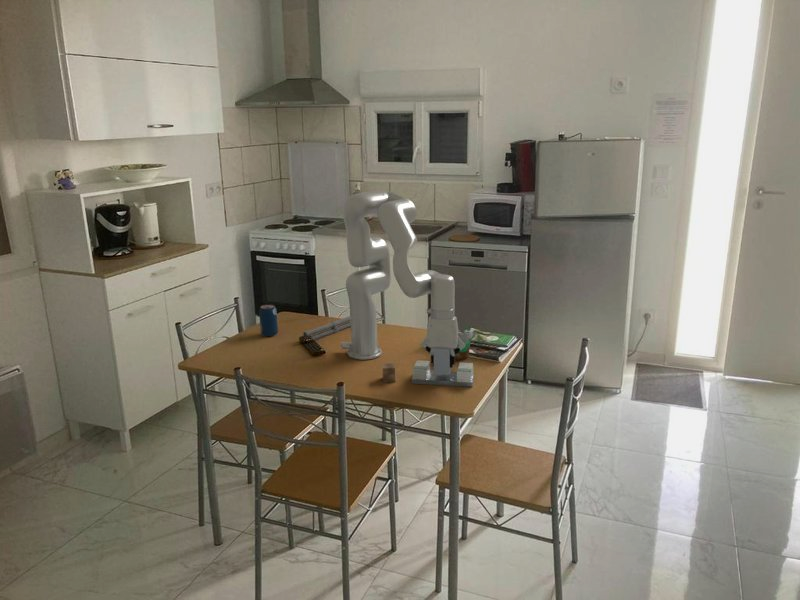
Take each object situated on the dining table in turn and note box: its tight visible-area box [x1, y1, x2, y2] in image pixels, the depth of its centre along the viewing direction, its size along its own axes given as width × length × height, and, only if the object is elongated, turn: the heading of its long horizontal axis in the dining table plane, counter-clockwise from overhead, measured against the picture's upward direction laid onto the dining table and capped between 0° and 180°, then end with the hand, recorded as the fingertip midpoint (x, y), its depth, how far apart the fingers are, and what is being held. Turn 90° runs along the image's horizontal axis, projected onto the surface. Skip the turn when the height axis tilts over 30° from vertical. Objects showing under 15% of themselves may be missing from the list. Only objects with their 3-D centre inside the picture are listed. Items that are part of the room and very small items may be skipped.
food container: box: [455, 329, 474, 362], centre depth 234 cm, size 12×6×10 cm, turn 88°
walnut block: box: [382, 363, 396, 383], centre depth 218 cm, size 4×4×5 cm
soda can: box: [258, 304, 279, 337], centre depth 264 cm, size 7×7×12 cm
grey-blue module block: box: [433, 348, 452, 375], centre depth 215 cm, size 5×7×9 cm
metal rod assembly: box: [303, 316, 351, 341], centre depth 264 cm, size 26×3×5 cm, turn 140°
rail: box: [410, 360, 476, 388], centre depth 216 cm, size 20×8×5 cm, turn 79°
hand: (442, 365), depth 216 cm, fingers closed on grey-blue module block, 5 cm apart
